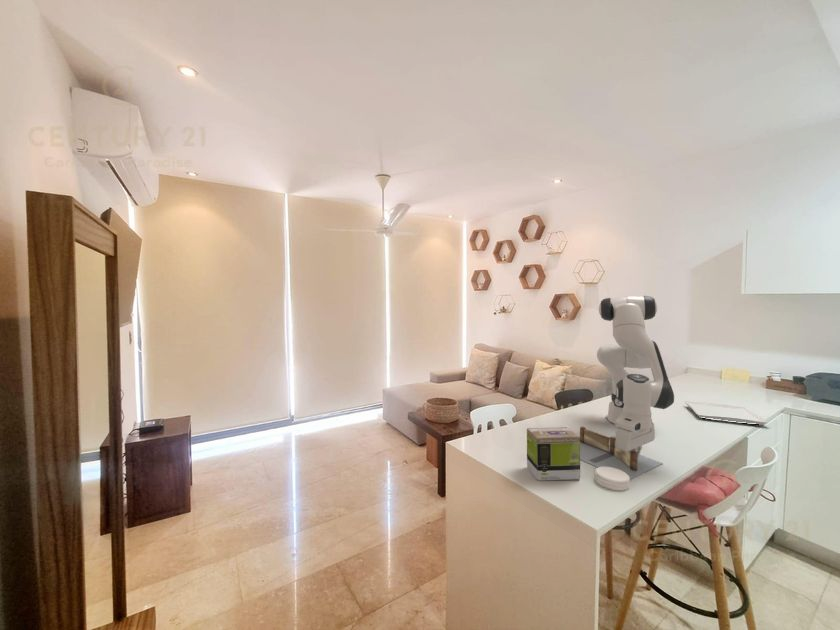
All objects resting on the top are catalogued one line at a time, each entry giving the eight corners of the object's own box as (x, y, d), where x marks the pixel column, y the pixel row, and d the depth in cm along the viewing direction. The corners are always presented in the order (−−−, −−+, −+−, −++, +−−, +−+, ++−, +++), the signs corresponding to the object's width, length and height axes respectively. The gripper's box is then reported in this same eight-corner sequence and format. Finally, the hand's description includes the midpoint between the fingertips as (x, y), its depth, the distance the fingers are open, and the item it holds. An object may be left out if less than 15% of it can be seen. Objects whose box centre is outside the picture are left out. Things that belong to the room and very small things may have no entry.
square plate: (683, 406, 199) (683, 400, 199) (744, 413, 187) (745, 406, 187) (697, 420, 174) (697, 413, 174) (768, 429, 162) (769, 421, 162)
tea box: (566, 466, 123) (567, 426, 123) (580, 480, 113) (581, 437, 112) (525, 467, 122) (526, 426, 122) (536, 481, 112) (537, 437, 112)
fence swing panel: (612, 454, 132) (612, 439, 132) (618, 455, 132) (618, 439, 131) (632, 470, 119) (632, 453, 119) (638, 470, 119) (639, 453, 119)
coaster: (601, 490, 107) (601, 479, 107) (590, 474, 117) (590, 464, 117) (635, 493, 106) (635, 482, 106) (621, 477, 116) (621, 467, 116)
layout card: (591, 438, 149) (591, 437, 149) (662, 463, 125) (663, 462, 125) (556, 449, 137) (556, 448, 137) (627, 480, 113) (627, 479, 113)
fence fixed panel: (582, 441, 146) (582, 426, 146) (617, 454, 133) (618, 438, 133) (578, 442, 145) (578, 427, 144) (614, 456, 132) (614, 439, 131)
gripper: (642, 412, 130) (641, 447, 131) (612, 422, 120) (611, 460, 120) (660, 417, 125) (659, 453, 126) (630, 427, 114) (629, 467, 115)
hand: (635, 457), depth 123 cm, fingers closed
